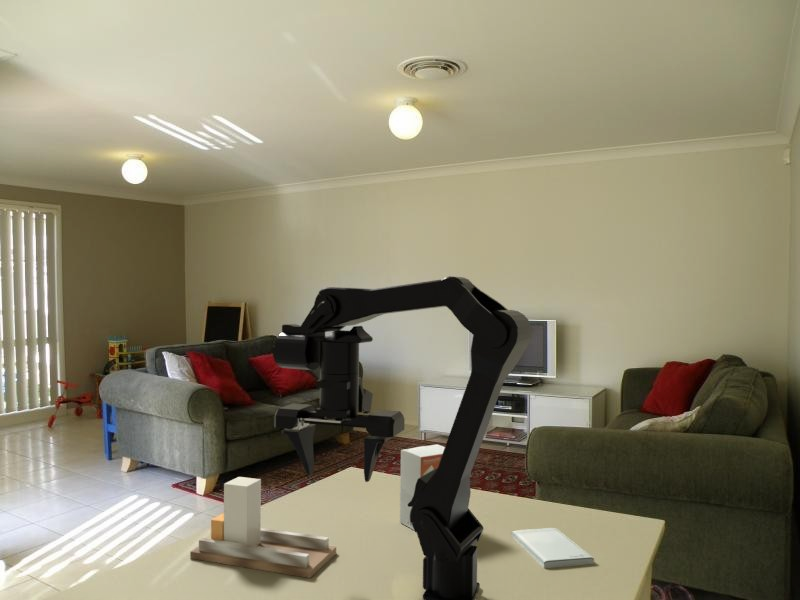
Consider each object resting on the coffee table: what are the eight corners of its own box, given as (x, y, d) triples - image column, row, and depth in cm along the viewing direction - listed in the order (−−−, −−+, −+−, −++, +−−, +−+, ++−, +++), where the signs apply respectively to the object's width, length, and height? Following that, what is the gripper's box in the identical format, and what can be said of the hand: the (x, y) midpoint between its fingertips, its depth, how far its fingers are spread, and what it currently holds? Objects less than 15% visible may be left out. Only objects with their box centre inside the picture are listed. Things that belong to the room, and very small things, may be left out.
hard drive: (594, 557, 95) (556, 526, 107) (543, 561, 93) (511, 529, 105) (594, 567, 95) (556, 536, 107) (543, 572, 93) (511, 539, 105)
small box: (419, 534, 106) (420, 456, 105) (398, 522, 111) (399, 448, 111) (457, 525, 110) (458, 450, 110) (435, 514, 115) (436, 443, 115)
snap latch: (238, 537, 100) (238, 511, 100) (222, 547, 96) (222, 521, 96) (227, 535, 101) (227, 510, 101) (211, 545, 97) (211, 519, 97)
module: (260, 542, 99) (260, 479, 99) (246, 552, 95) (246, 486, 95) (238, 539, 100) (238, 476, 100) (223, 549, 96) (224, 483, 96)
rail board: (336, 553, 97) (336, 536, 97) (310, 578, 89) (310, 559, 89) (224, 536, 104) (224, 520, 104) (190, 558, 95) (190, 541, 95)
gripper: (415, 369, 97) (414, 469, 98) (306, 363, 103) (305, 458, 103) (392, 378, 87) (391, 490, 87) (272, 371, 93) (271, 477, 93)
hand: (338, 477), depth 93 cm, fingers open, 9 cm apart
